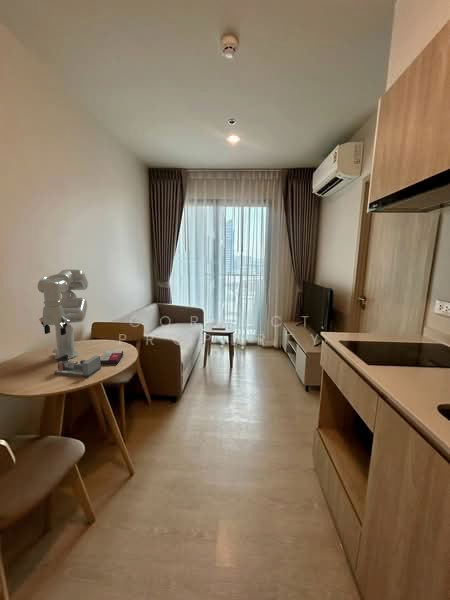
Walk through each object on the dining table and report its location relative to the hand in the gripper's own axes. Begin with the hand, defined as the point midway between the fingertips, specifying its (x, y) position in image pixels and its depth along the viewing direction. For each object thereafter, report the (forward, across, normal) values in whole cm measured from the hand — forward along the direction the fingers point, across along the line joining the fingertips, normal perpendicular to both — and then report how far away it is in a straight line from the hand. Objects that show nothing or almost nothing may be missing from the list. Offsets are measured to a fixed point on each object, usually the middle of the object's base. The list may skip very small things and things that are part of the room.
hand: (55, 334), depth 144 cm
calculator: (+21, +22, +18) cm, 35 cm away
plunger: (+19, +8, -2) cm, 20 cm away
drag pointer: (+19, +7, -6) cm, 21 cm away
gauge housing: (+21, +13, -1) cm, 25 cm away
